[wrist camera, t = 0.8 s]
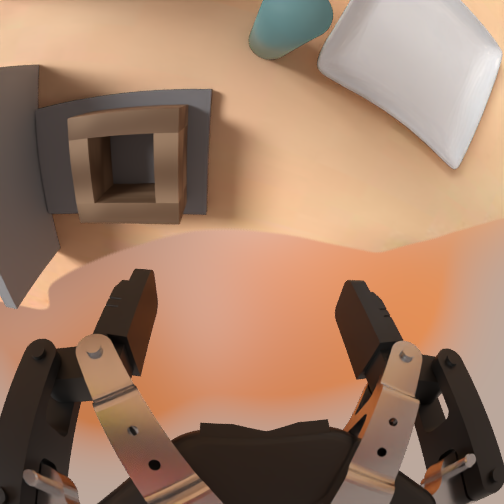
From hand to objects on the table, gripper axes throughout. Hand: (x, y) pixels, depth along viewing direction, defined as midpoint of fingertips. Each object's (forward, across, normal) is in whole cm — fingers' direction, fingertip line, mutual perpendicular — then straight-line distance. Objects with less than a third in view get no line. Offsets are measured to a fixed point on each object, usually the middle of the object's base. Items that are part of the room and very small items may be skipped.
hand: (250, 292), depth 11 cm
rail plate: (+19, +13, -1) cm, 23 cm away
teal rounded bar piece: (+19, -1, -14) cm, 23 cm away
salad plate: (+20, -18, -18) cm, 32 cm away
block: (+18, +10, -1) cm, 21 cm away
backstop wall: (+19, +25, -1) cm, 31 cm away
